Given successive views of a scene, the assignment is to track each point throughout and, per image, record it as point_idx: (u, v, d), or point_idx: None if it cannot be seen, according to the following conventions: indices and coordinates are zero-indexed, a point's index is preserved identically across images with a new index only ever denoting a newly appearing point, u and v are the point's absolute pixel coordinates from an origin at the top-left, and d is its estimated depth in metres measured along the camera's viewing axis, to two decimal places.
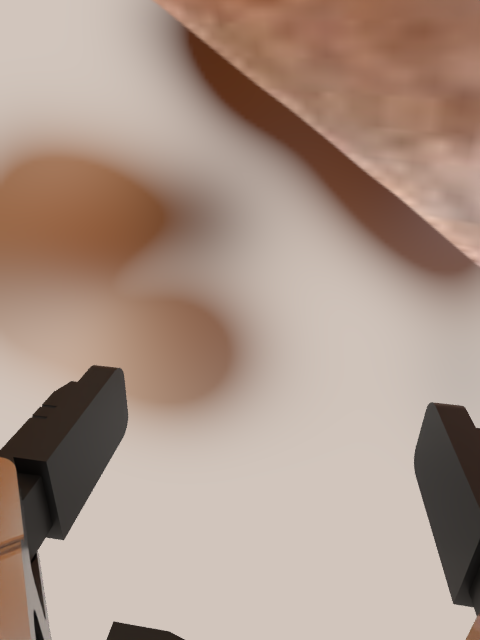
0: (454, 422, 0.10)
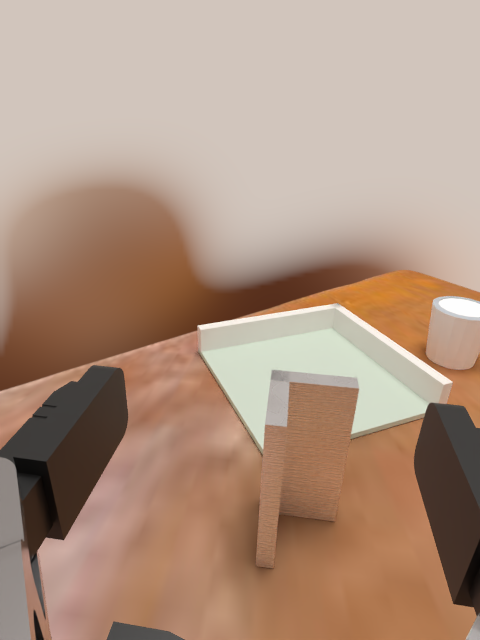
0: (454, 422, 0.10)
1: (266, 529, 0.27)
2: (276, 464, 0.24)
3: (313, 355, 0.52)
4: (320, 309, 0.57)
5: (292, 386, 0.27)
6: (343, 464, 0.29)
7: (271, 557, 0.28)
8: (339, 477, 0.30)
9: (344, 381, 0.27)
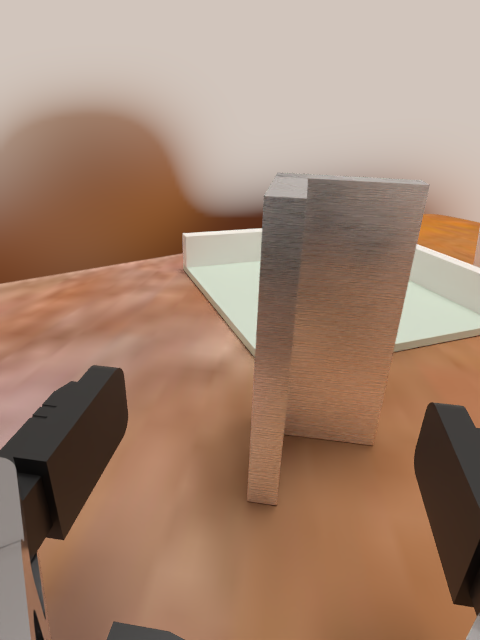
0: (454, 422, 0.10)
1: (266, 430, 0.16)
2: (284, 289, 0.13)
3: None
4: None
5: (312, 187, 0.16)
6: (392, 340, 0.18)
7: (273, 484, 0.17)
8: (384, 365, 0.19)
9: (401, 181, 0.16)
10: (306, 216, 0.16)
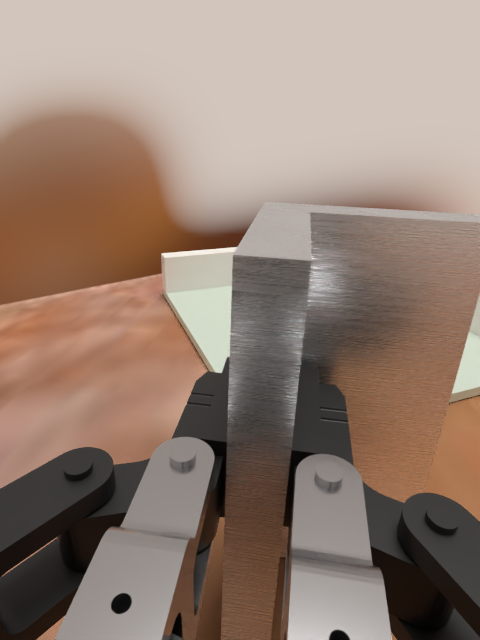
0: (302, 377, 0.11)
1: (245, 608, 0.10)
2: (272, 409, 0.08)
3: None
4: None
5: (317, 226, 0.10)
6: (432, 442, 0.12)
7: None
8: (420, 475, 0.13)
9: (451, 216, 0.11)
10: None
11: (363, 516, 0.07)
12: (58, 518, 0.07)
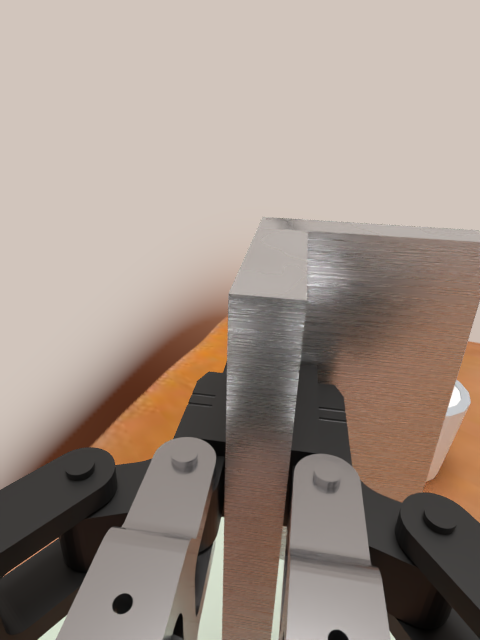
0: (301, 377, 0.11)
1: (245, 619, 0.10)
2: (269, 439, 0.08)
3: None
4: None
5: (315, 244, 0.10)
6: (429, 453, 0.13)
7: None
8: (417, 483, 0.13)
9: (449, 233, 0.11)
10: None
11: (361, 516, 0.07)
12: (60, 518, 0.07)
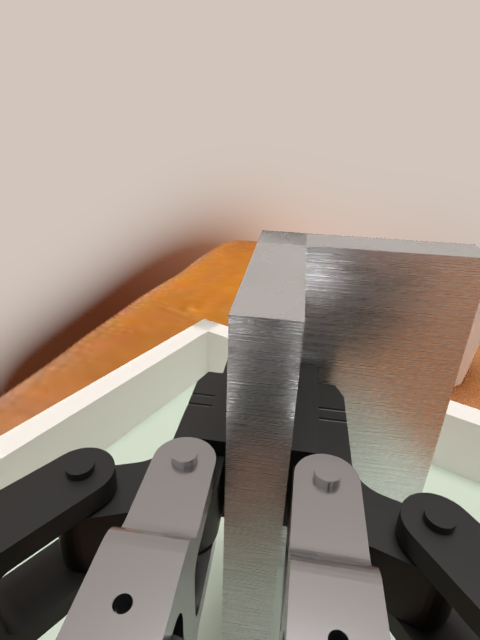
0: (301, 377, 0.11)
1: (244, 627, 0.10)
2: (267, 453, 0.08)
3: None
4: (181, 343, 0.24)
5: (313, 259, 0.11)
6: (426, 462, 0.13)
7: None
8: (414, 492, 0.13)
9: (445, 247, 0.11)
10: (304, 298, 0.11)
11: (361, 516, 0.07)
12: (60, 518, 0.07)
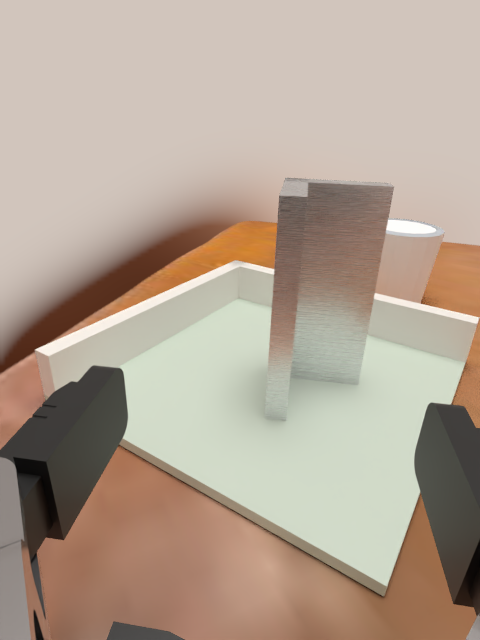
0: (454, 422, 0.10)
1: (279, 362, 0.22)
2: (292, 258, 0.20)
3: (253, 342, 0.31)
4: (222, 272, 0.36)
5: (311, 189, 0.22)
6: (370, 301, 0.24)
7: (283, 404, 0.23)
8: (365, 321, 0.25)
9: (374, 183, 0.22)
10: (306, 209, 0.23)
11: None
12: None
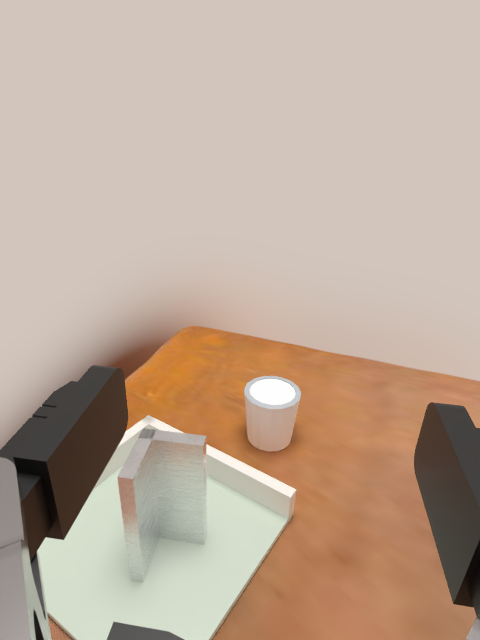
0: (454, 422, 0.10)
1: (133, 552, 0.35)
2: (130, 504, 0.33)
3: None
4: (133, 433, 0.49)
5: (154, 442, 0.36)
6: (202, 501, 0.38)
7: (140, 573, 0.36)
8: (201, 511, 0.38)
9: (194, 438, 0.36)
10: (153, 452, 0.36)
11: None
12: None
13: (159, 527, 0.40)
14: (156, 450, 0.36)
